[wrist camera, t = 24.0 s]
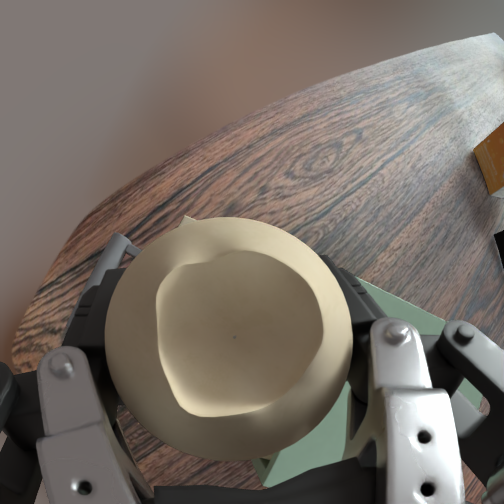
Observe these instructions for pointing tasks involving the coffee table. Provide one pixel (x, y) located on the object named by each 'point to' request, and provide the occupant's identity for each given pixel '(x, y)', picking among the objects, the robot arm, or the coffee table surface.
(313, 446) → the green drawer housing
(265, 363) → the candle
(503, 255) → the decorative object
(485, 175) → the small box
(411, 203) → the coffee table surface
